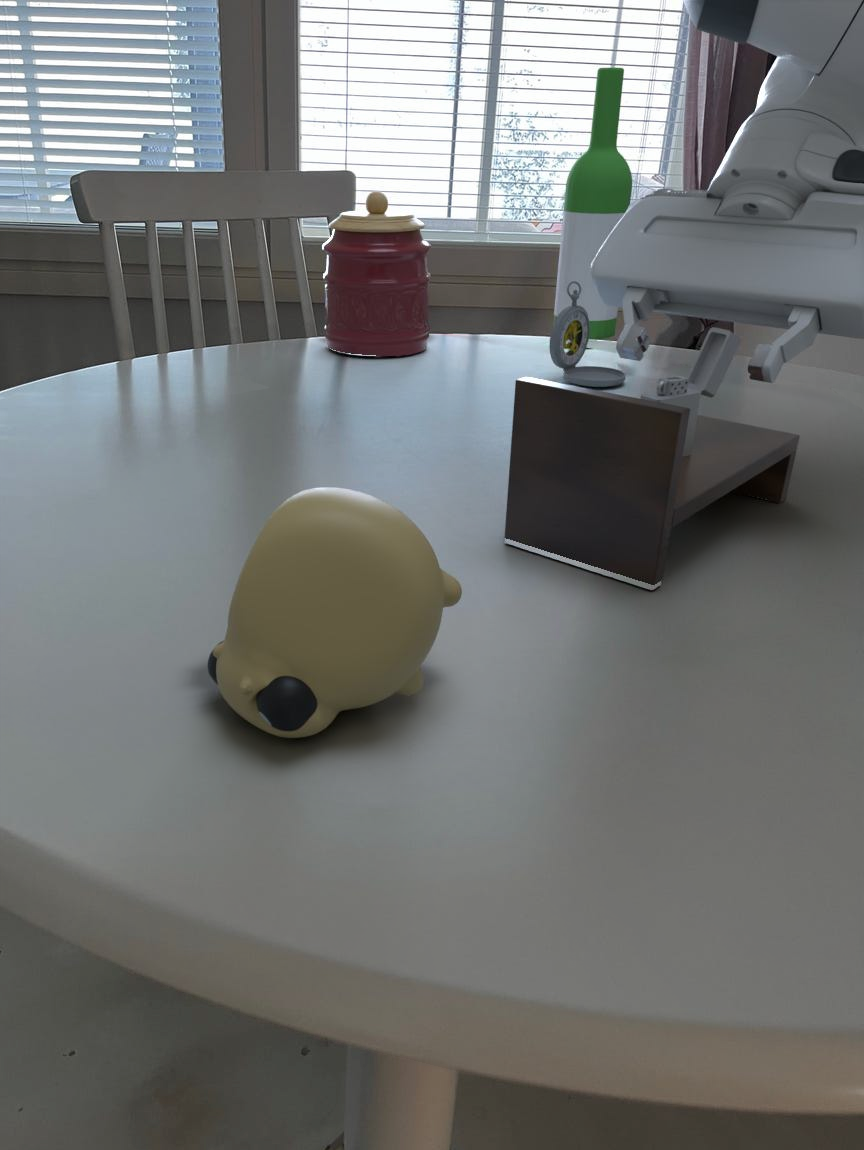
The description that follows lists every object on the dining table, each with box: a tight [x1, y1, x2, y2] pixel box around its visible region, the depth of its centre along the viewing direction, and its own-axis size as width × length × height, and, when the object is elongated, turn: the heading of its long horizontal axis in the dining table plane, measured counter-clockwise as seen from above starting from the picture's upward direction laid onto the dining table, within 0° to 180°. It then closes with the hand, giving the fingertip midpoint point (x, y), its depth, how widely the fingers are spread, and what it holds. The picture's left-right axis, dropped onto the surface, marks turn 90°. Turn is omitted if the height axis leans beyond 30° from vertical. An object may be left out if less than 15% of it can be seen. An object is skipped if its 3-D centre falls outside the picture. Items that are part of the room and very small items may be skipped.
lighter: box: [639, 326, 742, 457], centre depth 62 cm, size 7×2×8 cm, turn 122°
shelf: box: [504, 376, 801, 585], centre depth 64 cm, size 11×21×11 cm, turn 138°
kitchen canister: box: [321, 190, 432, 357], centre depth 112 cm, size 13×13×18 cm
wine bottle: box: [552, 67, 633, 350], centre depth 111 cm, size 8×8×30 cm
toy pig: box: [207, 486, 463, 739], centre depth 44 cm, size 10×12×11 cm
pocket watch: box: [549, 281, 627, 388], centre depth 100 cm, size 8×8×10 cm
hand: (690, 365), depth 63 cm, fingers open, 8 cm apart
